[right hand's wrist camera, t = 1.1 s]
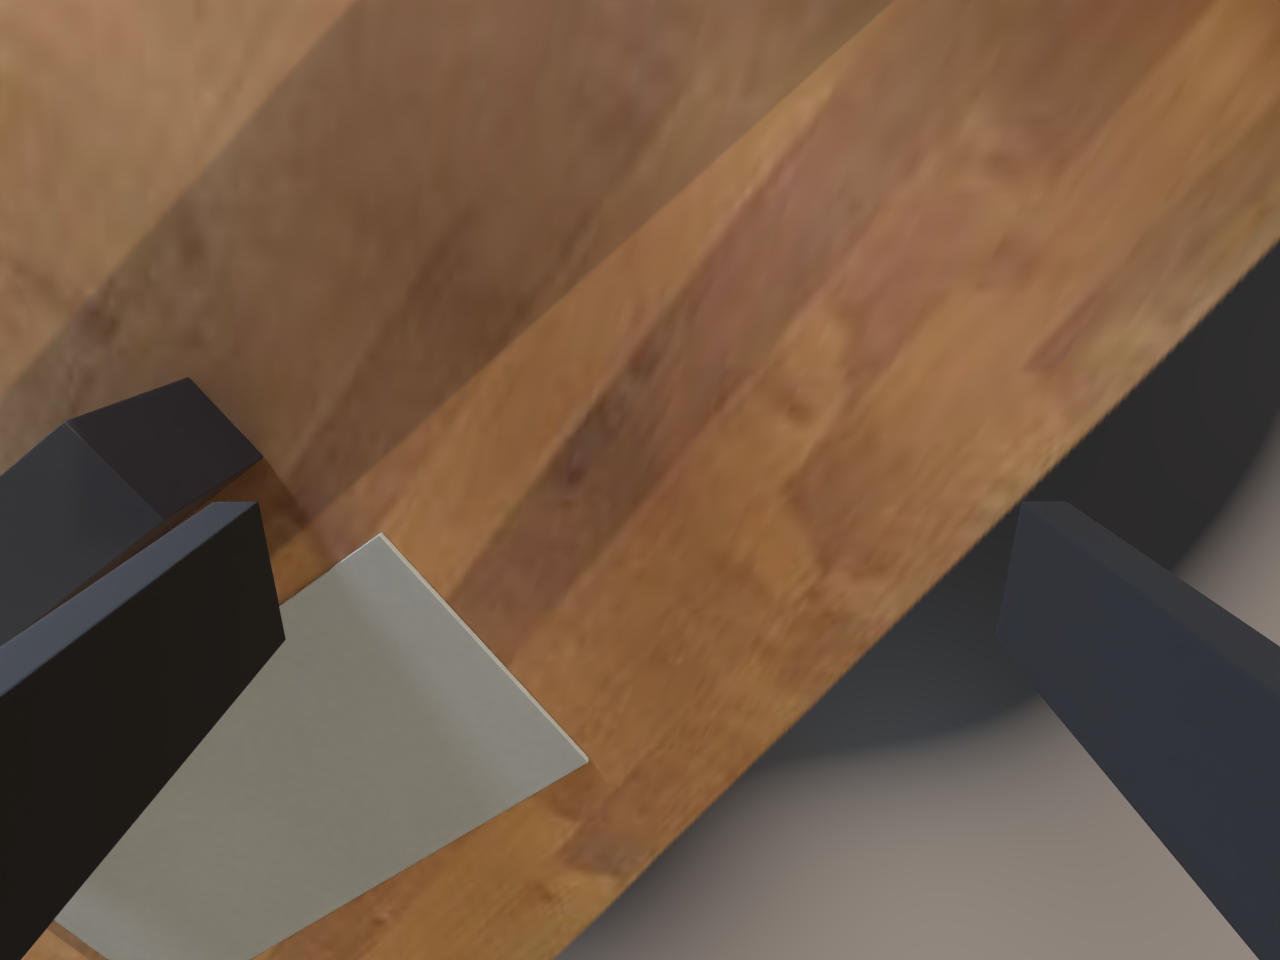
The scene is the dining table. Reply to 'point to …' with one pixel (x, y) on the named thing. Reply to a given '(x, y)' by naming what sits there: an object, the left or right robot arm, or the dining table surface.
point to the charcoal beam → (108, 493)
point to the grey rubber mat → (324, 774)
